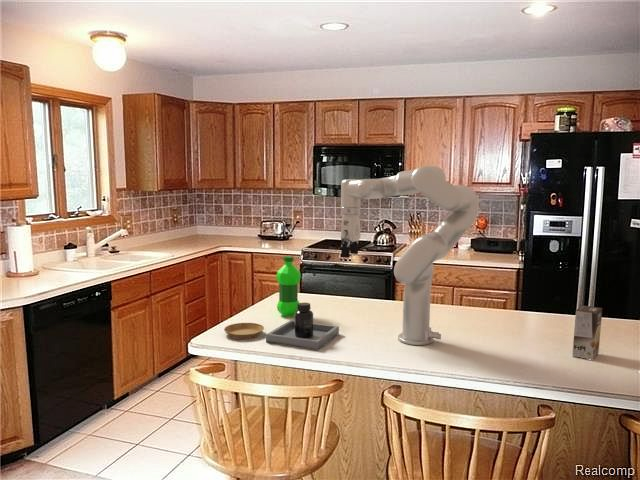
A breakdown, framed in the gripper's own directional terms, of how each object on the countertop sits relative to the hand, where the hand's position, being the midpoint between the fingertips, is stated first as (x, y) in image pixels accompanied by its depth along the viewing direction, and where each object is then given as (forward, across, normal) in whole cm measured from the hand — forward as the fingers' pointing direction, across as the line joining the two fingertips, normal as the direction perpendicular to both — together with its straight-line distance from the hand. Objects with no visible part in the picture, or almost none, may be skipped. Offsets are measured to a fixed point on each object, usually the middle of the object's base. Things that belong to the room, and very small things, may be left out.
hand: (349, 255), depth 203 cm
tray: (+28, -21, +10) cm, 37 cm away
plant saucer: (+29, -26, +32) cm, 50 cm away
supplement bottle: (+28, -21, +10) cm, 36 cm away
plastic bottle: (+28, +5, +29) cm, 41 cm away
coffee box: (+29, +2, -84) cm, 89 cm away
